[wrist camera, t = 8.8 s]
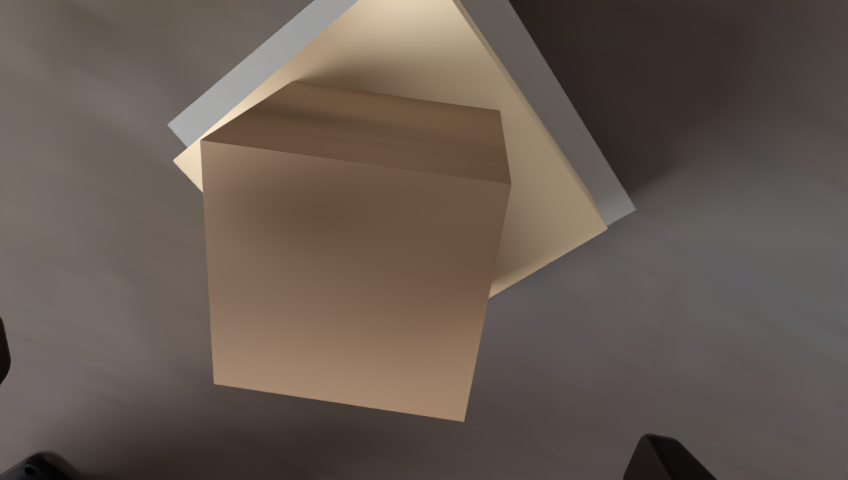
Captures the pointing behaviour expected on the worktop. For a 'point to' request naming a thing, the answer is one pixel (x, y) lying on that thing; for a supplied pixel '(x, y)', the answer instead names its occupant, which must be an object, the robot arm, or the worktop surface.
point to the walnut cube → (353, 246)
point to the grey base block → (505, 38)
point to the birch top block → (455, 84)
